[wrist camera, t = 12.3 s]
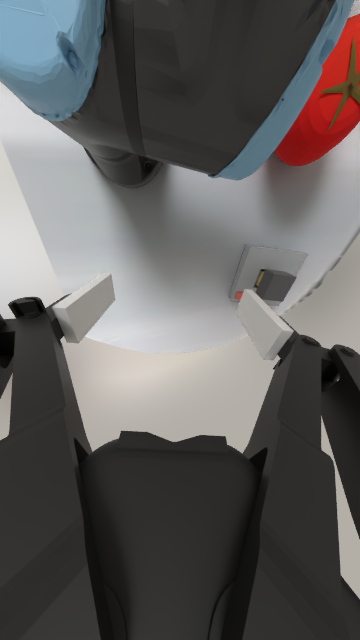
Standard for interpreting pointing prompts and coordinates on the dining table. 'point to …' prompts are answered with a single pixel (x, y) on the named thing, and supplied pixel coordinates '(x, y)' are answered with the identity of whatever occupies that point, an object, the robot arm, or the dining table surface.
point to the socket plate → (263, 259)
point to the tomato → (328, 103)
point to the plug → (273, 284)
